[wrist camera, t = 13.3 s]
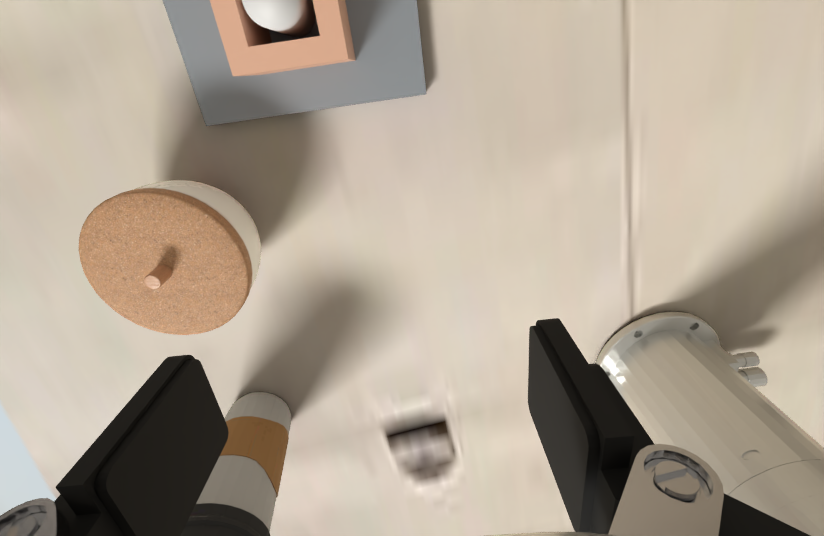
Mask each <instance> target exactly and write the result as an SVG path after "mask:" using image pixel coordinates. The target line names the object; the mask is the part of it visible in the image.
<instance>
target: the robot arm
mask: <svg viewBox="0 0 824 536" xmlns="http://www.w3.org/2000/svg"><path fill="white" fill-rule="evenodd" d="M758 364H759V357H758V356H757V354H756V353H754V352H746V353H739V354H736V355H731V354H730V353H727V352H726V351H725V350H724V349H723V348H721V346H720V340H719V338H718V336H717V334H716V332H715V331H714V330H713V328H712V327H711V326H710V325H708V324H707V323H706V322H704V321H703V320H702V319H701V318H699V317H696V316H694V315H692V314H688V313H683V312H663V313H657V314H653V315H650V316H646V317H643V318H641V319H639V320H637V321H634V322H632V323H631V324H629V325H628V326H626V327H624V328H623V329H621V330H620V331H619V332H618V333H617V334H615V335H614V336H613V337H612V338H611V339H610V340H609V341H608V342H607V344H606V345H605V346H604V348H603V349H602V351H601V352H600V354H599V356H598V359H597V361H596V363H595V364H588V363H587V361H586V359H585V358H584V356H583V355H582V353H581V352H580V350H579V349H578V347H577V345H576V344H575V342H574V341H573V339H572V338H571V336H570V335H569V333H568V331H567V330H566V328H565V327H564V325H563V324H562V322H561V321H560V320H559V319H558V318H556V319H546V320H538V321H537V322H536V326H531V327H530V334H529V379H528V405H529V410H530V413H531V416H532V419H533V421H534V424H535V427H536V429H537V432H538V435H539V437H540V440H541V443H542V445H543V448H544V451H545V453H546V456H547V459H548V461H549V464H550V467H551V469H552V472H553V475H554V477H555V480H556V483H557V485H558V488H559V491H560V493H561V496H562V499H563V501H564V504H565V507H566V509H567V512H568V515H569V517H570V520H571V523H572V525H573V528H574V530H575V532H538V533H521V534H504V535H486V536H824V448H823V447H822V446H821V445H820V444H819V443H818V442H816V441H815V440H814V439H813V438H812V437H811V436H810V435H809V434H807V433H806V432H805V431H804V430H803V429H802V428H801V427H799V426H798V425H797V424H796V423H795V422H794V421H793V420H791V419H790V418H789V417H788V416H787V415H786V414H785V413H783V412H782V411H781V410H780V409H779V408H778V407H777V406H775V405H774V404H773V403H772V402H771V401H770V400H769V399H767V398H766V397H765V396H764V395H763V394H762V393H761V392H759V391H758V390H757V389H756V388H755V387H761V386H765V385H766V384H767V376H766V374H765V372H764V371H763V370H762V369H760V368H759V367H751V368H744V369H739V367H749V366H757V365H758ZM638 420H639V421H638ZM640 423H641V424H640ZM642 426H643V427H644V428H643V427H642ZM645 430H646V431H645ZM228 433H229V432H228V427H227V424H226V422H225V419H224V417H223V415H222V412H221V410H220V407H219V405H218V403H217V400H216V398H215V395H214V393H213V391H212V388H211V386H210V384H209V381H208V379H207V376H206V374H205V372H204V369H203V367H202V364H201V362H200V361H199V360H197V359H195V358H194V357H193V356H192V355H182V356H172V357H168V358H166V359H165V360H164V361H163V363H162V364H161V365H160V366H159V367H158V368H157V370H156V371H155V372H154V373H153V374H152V375H151V377H150V378H149V379H148V380H147V381H146V382H145V384H144V385H143V386H142V387H141V388H140V389H139V391H138V392H137V393H136V394H135V395H134V396H133V397H132V399H131V400H130V401H129V402H128V403H127V404H126V406H125V407H124V408H123V409H122V410H121V411H120V413H119V414H118V415H117V416H116V417H115V418H114V420H113V421H112V422H111V423H110V424H109V425H108V427H107V428H106V429H105V430H104V431H103V432H102V434H101V435H100V436H99V437H98V438H97V439H96V441H95V442H94V443H93V444H92V445H91V446H90V448H89V449H88V450H87V451H86V452H85V453H84V455H83V456H82V457H81V458H80V459H79V460H78V462H77V463H76V464H75V465H74V466H73V467H72V469H71V470H70V471H69V472H68V473H67V474H66V476H65V477H64V478H63V479H62V480H61V481H60V483H59V484H58V485H57V486H56V489H57V490H58V491H59V493H60V496H59V497H58V498H57V499H56V500H55V502H54V501H52V500H50V499H48V498H40V499H35V500H32V501H27V502H25V503H23V504H21V505H18V506H16V507H14V508H12V509H11V510H9V511H7V512H6V513H4V514H2V515H1V516H0V536H180V535H181V533H182V531H183V529H184V527H185V525H186V523H187V521H188V519H189V517H190V515H191V513H192V511H193V509H194V507H195V505H196V503H197V501H198V499H199V497H200V495H201V493H202V491H203V489H204V487H205V485H206V483H207V481H208V479H209V477H210V474H211V472H212V470H213V468H214V466H215V464H216V462H217V460H218V458H219V456H220V454H221V452H222V450H223V448H224V446H225V444H226V442H227V439H228ZM647 433H648V434H647ZM649 436H650V437H651V438H650V437H649ZM651 439H652V440H653V441H652V440H651ZM653 442H654V443H655V444H654V443H653Z"/></svg>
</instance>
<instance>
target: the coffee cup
mask: <svg viewBox="0 0 824 536" xmlns="http://www.w3.org/2000/svg"><path fill="white" fill-rule="evenodd" d="M291 419H292V418H291V413H290V411H289V408H288V406H287V404H286V403H285V402H284V401H283V400H282V399H281V398H279V397H277V396H276V395H273V394H270V393H265V392H253V393H249V394H246V395H244V396H242V397H241V398H240V399H238V400H237V401H236V402H235V403H234V404H233V405H232V407H231V408H230V410H229V412H228V414H227V415H226V417H225V422H226V424H227V427H228V432H229V433H228V439H227V442H226V444H225V446H224V448H223V450H222V452H221V454H220V456H219V458H218V460H217V462H216V464H215V466H214V468H213V470H212V472H211V474H210V477H209V479H208V481H207V483H206V485H205V487H204V489H203V491H202V493H201V495H200V497H199V499H198V501H197V503H196V505H195V507H194V509H193V511H192V513H191V515H190V517H189V519H188V521H187V523H186V525H185V527H184V529H183V531H182V533H181V535H180V536H270V533H269V531H270V526H271V521H272V516H273V511H274V506H275V501H276V497H277V496H278V491H279V486H280V480H281V475H282V470H283V465H284V460H285V454H286V449H287V444H288V439H289V438H288V435H289V430H290V424H291Z"/></svg>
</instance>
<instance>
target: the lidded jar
mask: <svg viewBox="0 0 824 536" xmlns="http://www.w3.org/2000/svg"><path fill="white" fill-rule="evenodd" d="M79 254H80V260H81V264H82V267H83V271H84V273H85V275H86V277H87V279H88V281H89V283H90V284H91V286H92V287H93V288H94V290H95V291H96V293H97V294H98V295H99V296H100V297H101V298H102V299H103V300H104V301H105V303H107V304H108V305H109V306H110V307H111V308H112V309H113V310H115V311H116V312H117V313H119V314H120V315H122V316H123V317H125V318H126V319H128V320H130V321H132V322H134V323H136V324H138V325H140V326H143V327H145V328H148V329H151V330H154V331H158V332H162V333H168V334H178V335H189V334H199V333H203V332H207V331H211V330H213V329H216V328H218V327H220V326H222V325H224V324H225V323H227V322H228V321H229V320H231V319H232V318H233V317H234V316H235V315H236V314H237V313H238V311H239V310H240V309H241V307H242V306H243V304H244V303H245V301H246V299H247V297H248V295H249V292H250V289H251V287H252V285H253V283H254V281H255V279H256V276H257V273H258V270H259V266H260V260H261V242H260V238H259V234H258V231H257V228H256V226H255V223H254V221H253V220H252V218H251V216H250V215H249V213H248V212H247V211H246V210H245V208H244V207H243V206H242V205H241V204H240V203H239V202H238V201H236V200H235V199H234V198H233V197H231V196H230V195H228V194H227V193H226V192H224V191H222V190H220V189H218V188H216V187H213V186H210V185H207V184H204V183H200V182H195V181H189V180H170V181H161V182H156V183H152V184H148V185H144V186H141V187H139V188H136V189H134V190H131V191H127V192H123V193H120V194H118V195H116V196H114V197H112V198H110V199H107V200H105V201H104V202H102V203H101V204H100V205H98V206H97V207H96V208H95V209H94V210H93V211H92V212H91V213H90V214H89V216H88V217H87V219H86V221H85V222H84V224H83V226H82V230H81V233H80V237H79Z"/></svg>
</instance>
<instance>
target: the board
mask: <svg viewBox="0 0 824 536" xmlns="http://www.w3.org/2000/svg"><path fill="white" fill-rule="evenodd" d="M345 2H346V8H347V13H348V19H349V25H350V30H351V36H352V42H353V47H354V53H355V59H356V61H349V62H342V63H336V64H329V65H323V66H316V67H310V68H303V69H296V70H290V71H283V72H277V73H270V74H263V75H249V76H233V75H232V72H231V69H230V65H229V62H228V59H227V55H226V52H225V49H224V46H223V42H222V39H221V36H220V33H219V29H218V26H217V23H216V20H215V16H214V13H213V10H212V6H211V3H210V0H163V3H164V6H165V8H166V11H167V14H168V17H169V20H170V23H171V26H172V29H173V31H174V34H175V37H176V40H177V43H178V46H179V49H180V52H181V55H182V57H183V60H184V63H185V66H186V69H187V72H188V75H189V78H190V81H191V83H192V86H193V89H194V92H195V95H196V98H197V101H198V104H199V107H200V109H201V112H202V115H203V118H204V121H205V124H206V126H210V125H217V124H224V123H231V122H238V121H245V120H252V119H259V118H265V117H272V116H279V115H286V114H293V113H300V112H307V111H314V110H321V109H328V108H335V107H341V106H348V105H355V104H362V103H369V102H376V101H383V100H390V99H397V98H404V97H411V96H417V95H424V94H426V85H425V76H424V66H423V56H422V47H421V37H420V28H419V18H418V9H417V0H345ZM242 3H243V6H244V8H245V10H246V12H247V14H248V15H249V16H250V18H251V19H252V20H253V21H254V22H256V23H257V24H258V25H260V26H262V27H264V28H267V29H269V32H270V36H271V40H272V43H277V42H283V41H290V40H296V39H303V38H309V37H316V36H320V33H319V29H318V24H317V19H316V14H315V9H314V5H313V0H242Z"/></svg>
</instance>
